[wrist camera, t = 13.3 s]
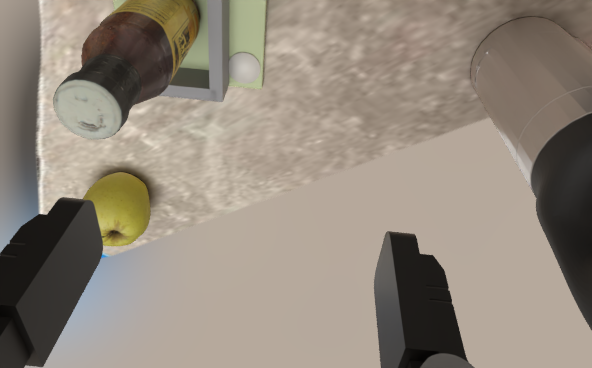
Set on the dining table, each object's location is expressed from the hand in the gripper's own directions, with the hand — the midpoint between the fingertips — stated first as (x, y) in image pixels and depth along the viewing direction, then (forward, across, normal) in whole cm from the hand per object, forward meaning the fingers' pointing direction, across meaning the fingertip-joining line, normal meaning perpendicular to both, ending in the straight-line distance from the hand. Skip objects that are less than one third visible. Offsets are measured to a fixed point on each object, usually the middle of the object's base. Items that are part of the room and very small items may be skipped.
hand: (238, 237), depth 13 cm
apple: (+36, +19, +28) cm, 49 cm away
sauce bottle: (+34, +12, +6) cm, 37 cm away
